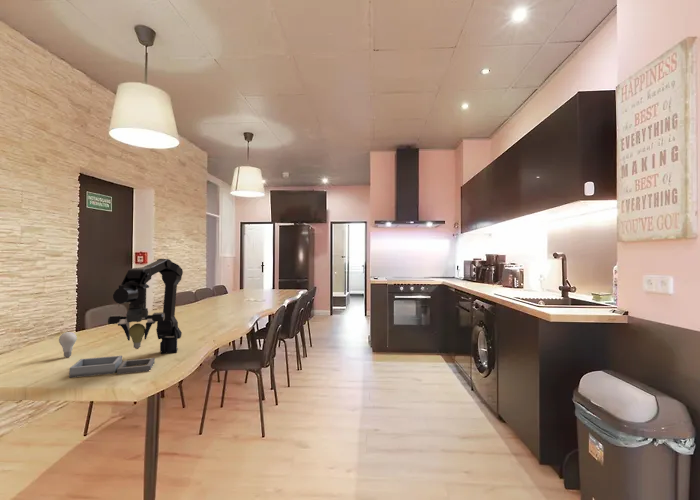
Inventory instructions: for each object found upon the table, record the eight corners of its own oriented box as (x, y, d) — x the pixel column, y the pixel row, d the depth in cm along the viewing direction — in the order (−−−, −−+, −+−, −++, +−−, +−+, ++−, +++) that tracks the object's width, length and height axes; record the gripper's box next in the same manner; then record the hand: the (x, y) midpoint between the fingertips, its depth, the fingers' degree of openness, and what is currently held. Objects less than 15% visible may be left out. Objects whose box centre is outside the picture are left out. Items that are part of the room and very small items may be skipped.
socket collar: (154, 362, 146) (154, 357, 146) (150, 370, 135) (150, 365, 136) (123, 365, 142) (123, 360, 142) (116, 374, 131) (117, 368, 131)
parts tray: (122, 364, 144) (122, 355, 144) (114, 373, 132) (114, 364, 132) (80, 367, 138) (80, 359, 138) (69, 377, 127) (69, 368, 127)
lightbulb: (77, 357, 152) (78, 332, 153) (59, 360, 148) (60, 334, 148) (74, 354, 157) (75, 329, 157) (57, 357, 152) (57, 332, 152)
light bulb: (137, 351, 135) (137, 325, 136) (125, 350, 136) (125, 324, 137) (148, 347, 141) (148, 322, 141) (136, 346, 142) (137, 321, 142)
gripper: (104, 304, 128) (103, 347, 128) (161, 301, 135) (161, 342, 135) (112, 300, 138) (111, 340, 138) (165, 298, 145) (164, 336, 145)
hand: (137, 339), depth 139 cm, fingers closed on light bulb, 5 cm apart
